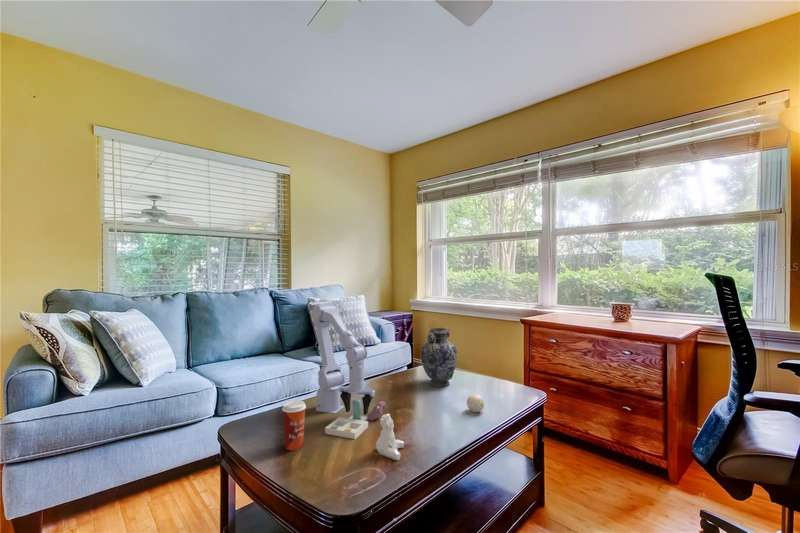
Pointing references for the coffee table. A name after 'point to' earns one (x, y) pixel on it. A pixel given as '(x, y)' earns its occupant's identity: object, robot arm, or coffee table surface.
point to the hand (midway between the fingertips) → (356, 412)
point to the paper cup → (294, 424)
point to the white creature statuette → (388, 439)
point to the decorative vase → (439, 357)
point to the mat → (361, 417)
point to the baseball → (475, 403)
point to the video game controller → (377, 411)
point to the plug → (357, 409)
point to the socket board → (346, 427)
